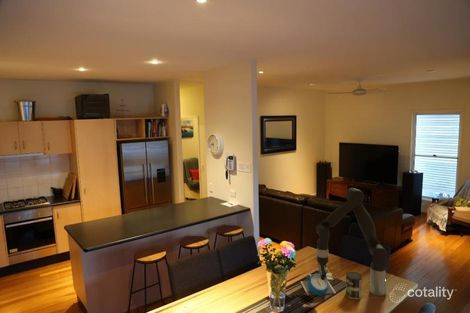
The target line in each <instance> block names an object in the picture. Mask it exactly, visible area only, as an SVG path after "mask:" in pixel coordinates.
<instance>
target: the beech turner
mask: <svg viewBox="0 0 470 313" xmlns="http://www.w3.org/2000/svg"><path fill="white" fill-rule="evenodd" d="M326 270H328V272H327V274H326V275H325V278H326V279H327V280H328V281H334V277H333V274H332V273H331V272H330V271H329V268H328V267H326Z"/></svg>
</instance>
